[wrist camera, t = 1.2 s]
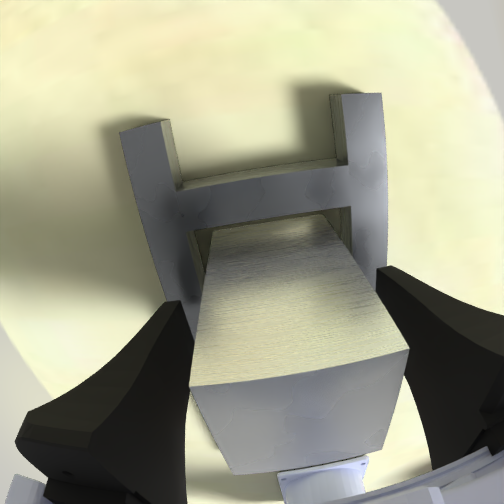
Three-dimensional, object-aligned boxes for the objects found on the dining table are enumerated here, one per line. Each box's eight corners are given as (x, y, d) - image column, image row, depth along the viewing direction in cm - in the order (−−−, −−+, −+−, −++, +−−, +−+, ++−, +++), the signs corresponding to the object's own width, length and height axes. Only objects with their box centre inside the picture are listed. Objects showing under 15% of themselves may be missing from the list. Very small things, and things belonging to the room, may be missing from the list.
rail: (356, 432, 20) (361, 447, 19) (237, 451, 21) (237, 467, 19) (365, 93, 11) (381, 92, 9) (132, 128, 11) (119, 132, 10)
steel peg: (327, 303, 15) (381, 449, 8) (233, 318, 15) (233, 475, 8) (322, 213, 13) (409, 348, 6) (213, 230, 13) (189, 386, 6)
